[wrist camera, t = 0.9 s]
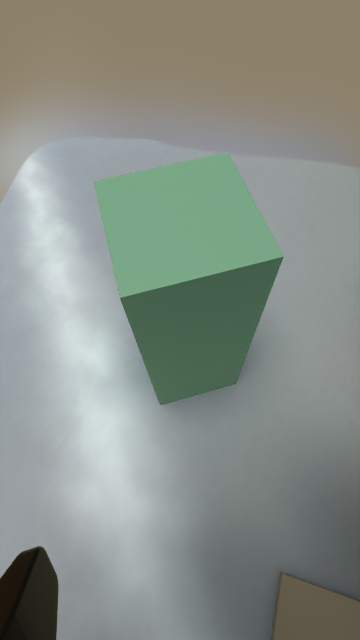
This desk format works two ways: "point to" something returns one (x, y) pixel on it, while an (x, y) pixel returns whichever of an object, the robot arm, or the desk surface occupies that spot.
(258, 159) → the desk surface
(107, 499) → the desk surface
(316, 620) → the lid
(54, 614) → the robot arm
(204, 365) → the tall green square pillar
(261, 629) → the desk surface
